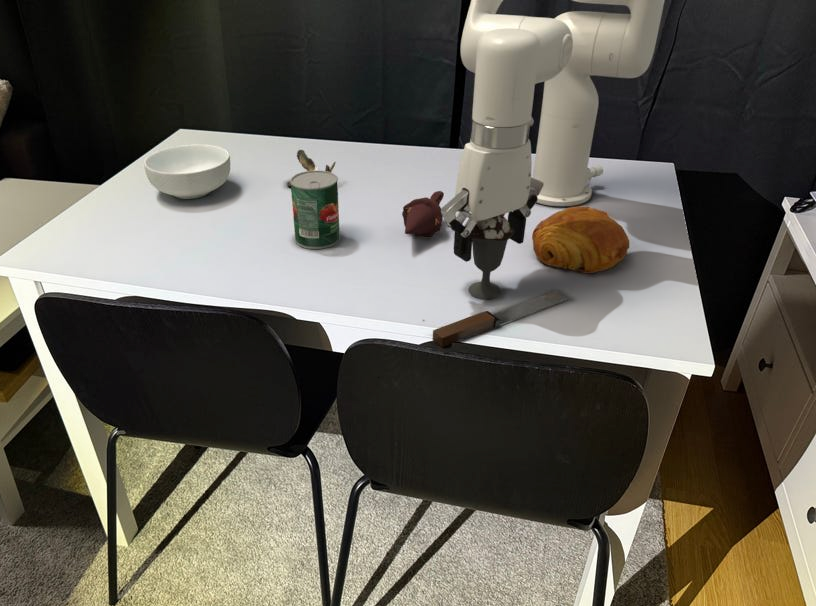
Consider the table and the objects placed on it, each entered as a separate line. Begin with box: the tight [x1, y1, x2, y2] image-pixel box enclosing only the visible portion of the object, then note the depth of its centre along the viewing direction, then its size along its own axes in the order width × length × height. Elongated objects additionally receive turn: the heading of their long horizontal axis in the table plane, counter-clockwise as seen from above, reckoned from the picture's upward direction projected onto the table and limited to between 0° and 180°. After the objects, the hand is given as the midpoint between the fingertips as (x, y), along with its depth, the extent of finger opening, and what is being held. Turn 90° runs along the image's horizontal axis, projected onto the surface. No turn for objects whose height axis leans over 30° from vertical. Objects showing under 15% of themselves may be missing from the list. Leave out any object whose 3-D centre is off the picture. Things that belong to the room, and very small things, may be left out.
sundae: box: [467, 213, 514, 300], centre depth 103 cm, size 7×7×15 cm
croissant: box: [531, 205, 630, 274], centre depth 114 cm, size 14×16×8 cm
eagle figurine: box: [286, 149, 336, 187], centre depth 142 cm, size 8×7×9 cm
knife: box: [432, 290, 569, 348], centre depth 101 cm, size 23×3×2 cm, turn 120°
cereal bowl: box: [143, 143, 231, 200], centre depth 141 cm, size 17×17×7 cm
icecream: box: [401, 190, 445, 239], centre depth 122 cm, size 7×7×15 cm
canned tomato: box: [289, 169, 341, 250], centre depth 121 cm, size 8×8×11 cm
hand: (488, 248), depth 104 cm, fingers open, 9 cm apart
